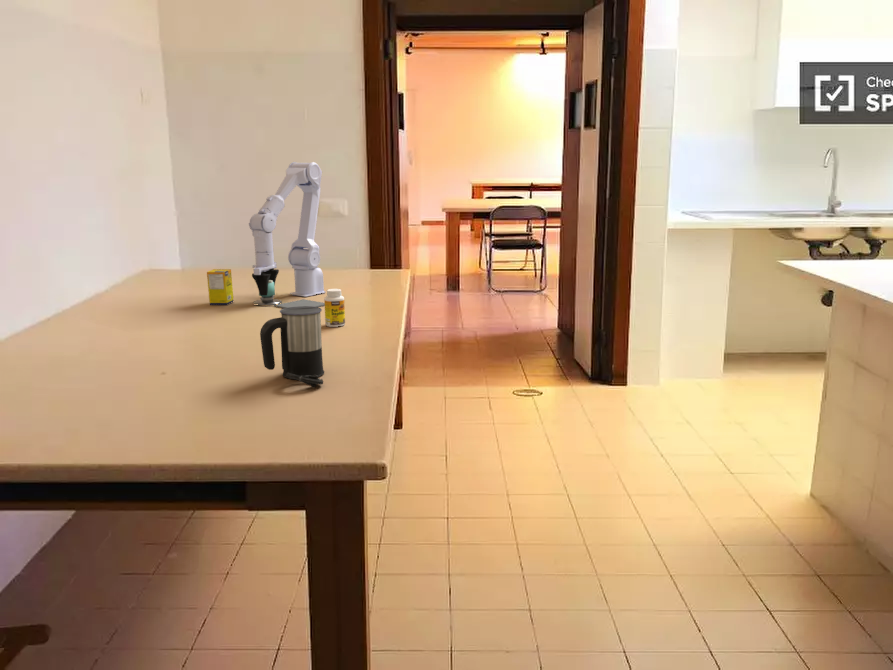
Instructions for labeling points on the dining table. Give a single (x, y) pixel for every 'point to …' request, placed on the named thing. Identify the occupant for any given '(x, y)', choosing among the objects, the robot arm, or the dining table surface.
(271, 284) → the cap
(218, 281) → the supplement box
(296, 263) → the robot arm
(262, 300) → the metal flanged disc
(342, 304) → the supplement bottle
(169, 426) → the dining table surface
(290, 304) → the mat
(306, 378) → the milk frother
